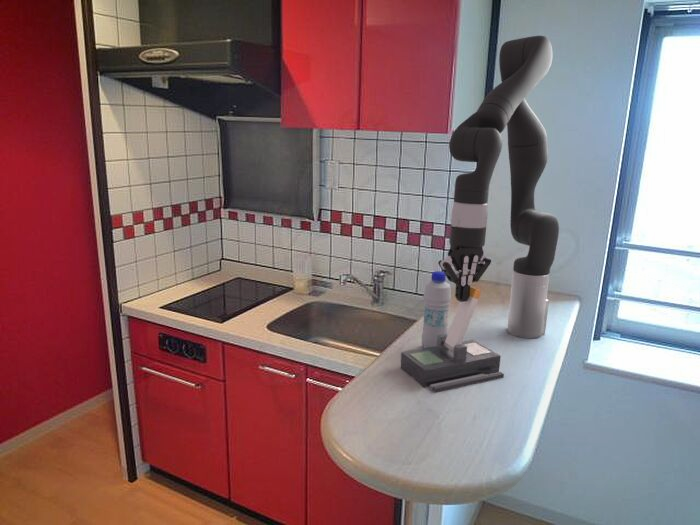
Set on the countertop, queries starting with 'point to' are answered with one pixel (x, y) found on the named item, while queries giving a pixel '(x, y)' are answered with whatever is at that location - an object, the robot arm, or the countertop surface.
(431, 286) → the bottle
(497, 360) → the switch box
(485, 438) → the countertop surface
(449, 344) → the lever
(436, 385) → the dark grey bar
